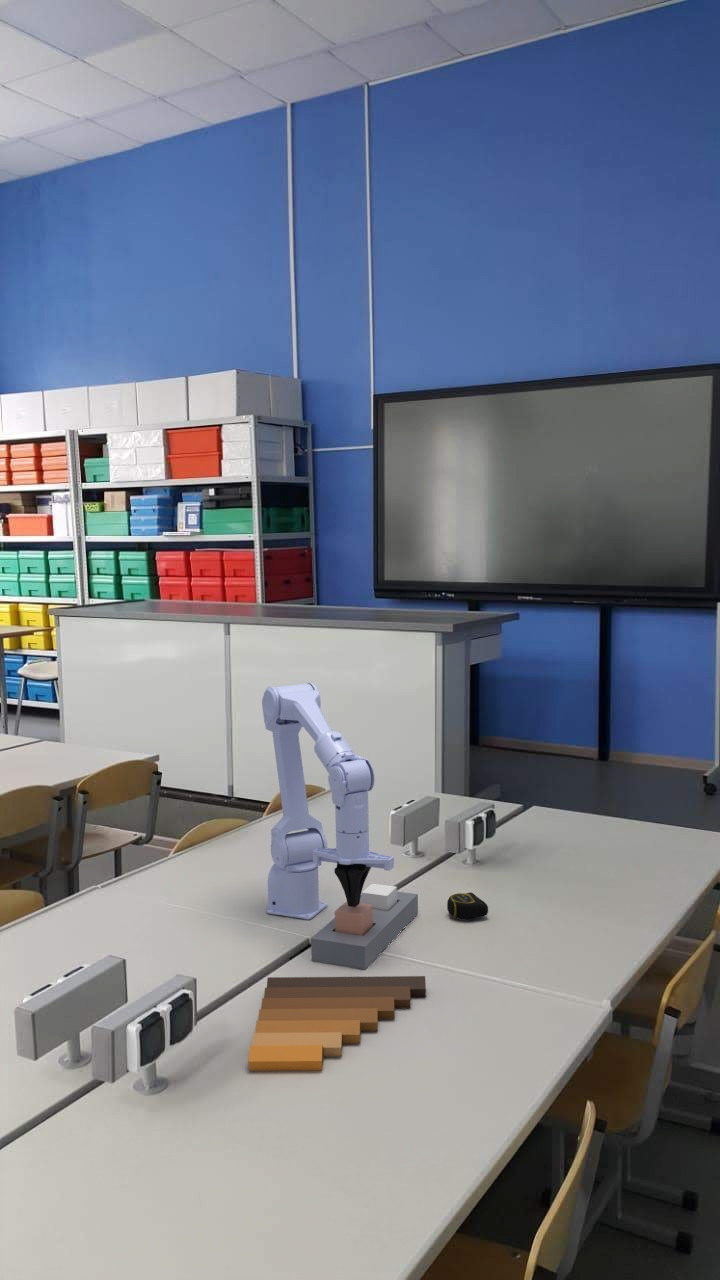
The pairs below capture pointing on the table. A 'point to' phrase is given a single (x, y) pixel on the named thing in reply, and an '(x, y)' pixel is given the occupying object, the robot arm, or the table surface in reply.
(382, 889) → the white key
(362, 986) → the pan flute
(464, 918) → the tape measure
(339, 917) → the terracotta key
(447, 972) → the table surface
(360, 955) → the key panel
